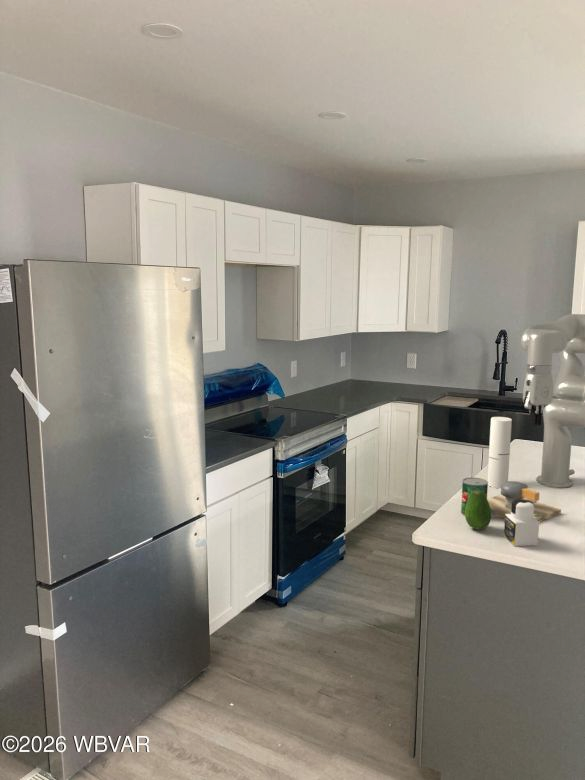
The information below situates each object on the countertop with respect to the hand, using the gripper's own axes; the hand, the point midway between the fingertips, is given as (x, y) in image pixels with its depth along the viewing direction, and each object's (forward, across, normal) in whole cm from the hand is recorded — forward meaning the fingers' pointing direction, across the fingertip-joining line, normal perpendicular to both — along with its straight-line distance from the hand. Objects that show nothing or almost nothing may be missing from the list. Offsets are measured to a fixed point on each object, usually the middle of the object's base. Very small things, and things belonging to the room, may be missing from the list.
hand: (535, 424), depth 208 cm
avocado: (+27, -33, -6) cm, 43 cm away
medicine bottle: (+27, -29, -19) cm, 44 cm away
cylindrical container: (+27, +5, +18) cm, 33 cm away
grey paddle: (+21, -12, -5) cm, 25 cm away
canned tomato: (+27, -24, +3) cm, 37 cm away
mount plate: (+27, -10, -2) cm, 29 cm away
